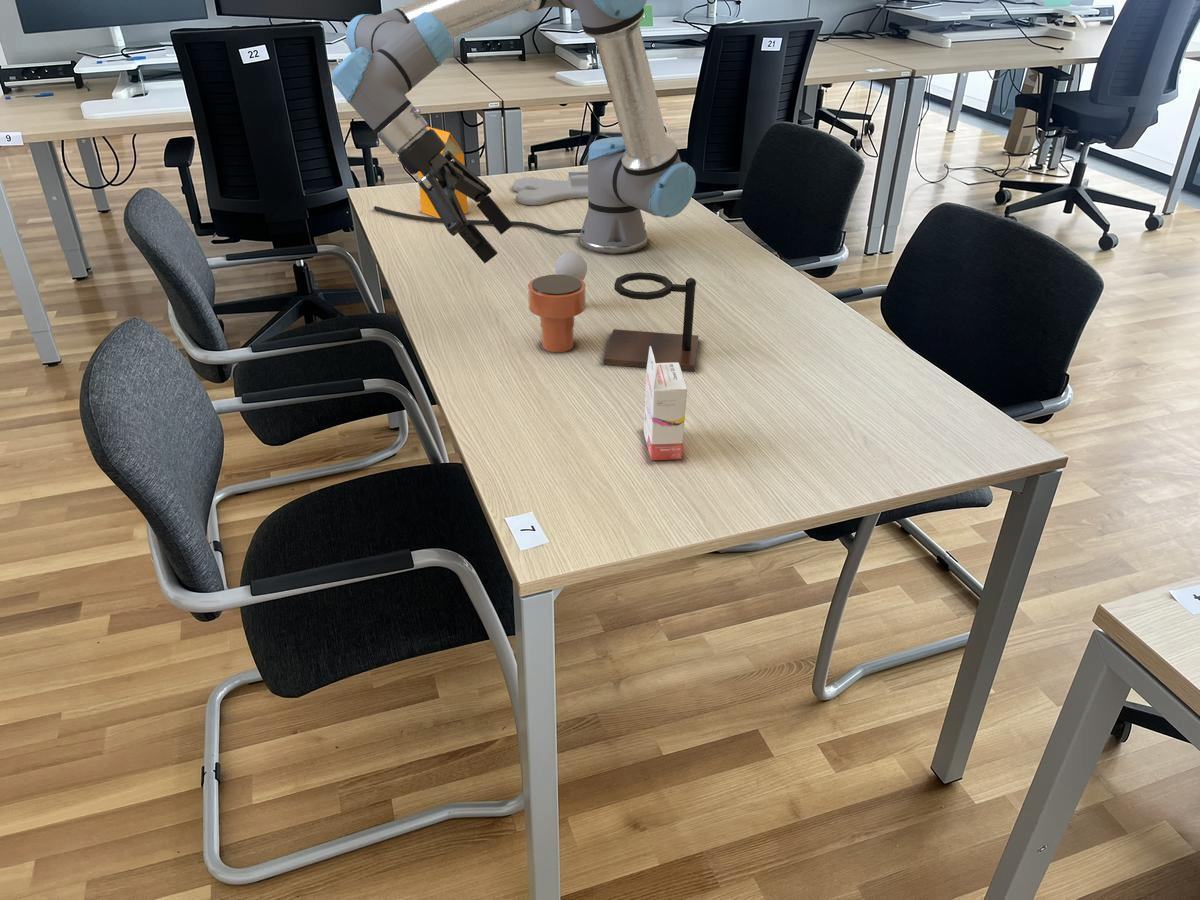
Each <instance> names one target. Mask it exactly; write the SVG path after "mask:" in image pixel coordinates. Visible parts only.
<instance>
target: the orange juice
mask: <svg viewBox="0 0 1200 900" xmlns="http://www.w3.org/2000/svg"><path fill="white" fill-rule="evenodd" d="M426 128H427V129H428V130H429V129H433V130H434V131H435V132H436V133H437V135H438V136H439V137H440V138H441V139H442V141H443V142H444V143H445V148H444V149H443V150H442V151H441V152H440V153H441V154H442V155H444V154H445V153H446V152H447V151H450V152H451V153H452V154H453V155H454V156H455V158H456V159H457V160H458V161H459V162H461V163H462V164H463V165H464V166H465V167H466V165H465V164H466V163H465V153H464V151H463V149H461V147H460V145H459V143H458V142H457V141H456V139H455V138H454V136H453V135H452V133H451V132H450V131H447V130H442V129H440V128H435V127H431V126H428V125H427V126H426ZM417 176H418V177H417V179H418V181H419V180H420V179H421V178H422V177H424V176H423V175H422V173H421V172H420V171H418V172H417ZM418 181H417V182H418ZM418 188H419V198H420V200H419V201H420V209H421V213H423V214H425V215H429V216H430V217H433V218H440V217H439V215H438V213H437V211H436V210H435V208H434V206H433V205H432V203H431V201H430V199H429V198H428V196H427V194H426V193H425V192H424V190H423V189H422V188H421V187H420V185H419V184H418ZM454 192H455V194H456V197H457V199H458V201H459V203H460V206H461V208H462V210H463V212H464V215H466V214H468V213H469V210H468V196H466V195H464V194H463V193H461V192H459V191H458V190H456V189H455V191H454Z"/></svg>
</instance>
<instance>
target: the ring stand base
mask: <svg viewBox="0 0 1200 900" xmlns="http://www.w3.org/2000/svg"><path fill="white" fill-rule="evenodd" d="M682 338H683V333H682V334H681V333H669V332H656V331H655V332H654V331H644V330H643V331H642V330H629V329H628V330H627V329H612V332H611V335H610V339H609V341H608V345H607V348H606V352H605V354H604V357H603V365H606V366H617V367H618V366H619V367H632V368H644V369H647V362H648V355H649V348H650V346H651V348H652V351H653V355H654V359H655V362H656V363H679V365H680V368H681V371H683V372H695V367H696V360H697V354H698V346H699V338H700V337H699V335H697V334H694V335H693V334H692V341H691V350H690V351H684V350H682ZM651 363H652V362H651Z"/></svg>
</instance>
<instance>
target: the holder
mask: <svg viewBox="0 0 1200 900" xmlns="http://www.w3.org/2000/svg"><path fill="white" fill-rule="evenodd" d="M567 177H568V178H567V179H568V180H559V179H546V178H539V177H521V178H517V179H515V180H514V181H513V182H512V190H514V192H517V193H516V196H515V197H516V201H517V202H518V203H519V204H521V205H525V206H543V205H547V204H550V203H553V202H558V201H563V200H571V199H588V170H586V171H568V175H567Z"/></svg>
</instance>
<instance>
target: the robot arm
mask: <svg viewBox="0 0 1200 900" xmlns="http://www.w3.org/2000/svg"><path fill="white" fill-rule="evenodd" d="M647 1H648V0H414V1H411V2H408V3H405V4H403V5H401V6H398V7H396V8H393V9H390V10H386V11H383V12H382V13H379V14H372V13H366V14H365V13H363V14H358V15H356V16H355V17H353V18H352V19H351V20H350V21H349V23H348V25H347V27H346V30H345V41H346V45H347V47H348V49H349V51H350V53H349V54H348V55H347V56H346V57H345V58H344V59H343V60H341V62H339V64H337V66H336V67H334V69H333V70H332V72H331V77H330V78H331V81H332V83H333V85H334V86H335V87H336V89H337V91H339V93H340V94H341V95H342V96H343V98H344V100H345V101H346V102H347V104H349V105H350V106H351V107H352V108H353V109H354V110H355V112H356V113H357V114H358V115H359V116H360V117H361V118H362V120H363V121H365V123H366V124H367V125H368V126H369V127H370V128H371V129H372V130H373V132H374V133H375V134H376V136H377V137H378V138H379V140H381V142H382V143H383V144H384V146H385V147H386V148H387V149H388V151H389V152H391V154H392V155H396V154H397V155H398V156H397V157H398V158H397V159H398V162H399V163H400V164H401V165H402V166H403V167H404V169H405V170H406V171H407V172H408V174H410V175H412V176H414V175H416V174H418V171H420V172H421V173H422V175H423V176H424V177H422V178H421V179H420V180H419V181H417V185H418V186H419V185H420V187H421V188H422V189H423V190H424V192H425V193H426V194H427V196H428V198H429V199H430V201H431V203H432V205H433V206H434V208H435V210H436V211H437V213H438V215H439V217H440V218H437V217H434V216H423V215H416V214H411V213H405V212H401V211H396V210H391V209H388V208H384V207H380V206H377V205H375V206H373V210H374V211H378V212H382V213H385V214H387V215H388V214H389V215H393V216H398V217H402V218H407V219H411V220H418V221H426V222H436V223H442V224H443V225H444V227H445V229H446V231H447V232H448V233H449V234H450V235H451V236H452V237H454V236H456V235H459V236H460V237H461V238H462V239H463V241H464V242H465V243H466V244H467V245H468V247H470V249H471V250H472V251H473V253H475V254H476V255H477V257H478V258H479V259H480V260H481V261H482V263H483V264H486V263H488V262H489V261H490V260H492V259H493V258H494V257H495V256H497V255H498V251H497V250H496V249H495V247H493V245H492V244H491V243H490V242H489V241H488V239H486V237H485V236H484V235H483V234H482V232H481V231H480V230H479V229H478V228H477V227H476V226H475V225H491V226H492V227H494V228H495V230H496V231H497V232H498V233H499V234H500V235H503V234H504V233H505V232H507V231H508V230H509V229H511V228H512V227H513V226H519V227H521V226H522V227H527V228H528V227H529V228H534V229H537V230H540V231H542V232H546V233H548V234H552V235H567V234H579V239H580V240H579V242H580V245H581V247H583V248H585V249H587V250H589V251H591V252H595V253H596V252H597V253H600V254H601V253H602V254H609V255H611V254H615V255H616V254H628V253H634V252H637V251H640V250H643V248H645V247H646V246H647V245H648V232H647V230H646V221H644V220H643V215H642V212H641V211H643V212H645V213H648V214H650V215H652V216H655V217H661V218H668V219H669V218H673V217H675V216H678V215H679V214H681V213H682V212H683V211H684V210H685V209H686V207H687V206H688V205H689V204H690V202H691V200H692V197H693V195H694V193H695V189H696V184H697V183H696V182H697V179H696V172H695V170H694V168H693V166H691V165H689V164H688V163H687V162H685V161H682V159H681V157H680V154H679V149H678V145H677V143H676V141H675V140H674V139H672V138H670V137H669V136H667V132H666V128H665V124H664V120H663V116H662V112H661V109H660V104H659V100H658V95H657V91H656V87H655V84H654V80H653V79H654V78H653V75H652V72H651V67H650V63H649V59H648V56H647V55H648V54H647V51H646V48H645V47H646V46H645V43H644V39H643V34H642V30H641V26H640V23H641V21H642V19H643V18H644V15H645V8H644V7H645V5H646V3H647ZM546 8H564V9H570V10H574V11H577V13H578V17H579V20H580V23H581V26H582V30H583V32H584V34H585V35H587V36H588V37H591V38H593V39H594V41H595V42H594V43H595V46H596V48H597V51H598V56H599V59H600V63H601V66H602V70H603V74H604V77H605V80H606V83H607V84H606V85H607V88H608V92H609V95H610V98H611V103H612V106H613V109H614V112H615V116H616V120H617V123H618V126H619V127H618V128H619V130H620V133H621V136H612V137H606V138H600V139H596V140H594V141H593V142H591V143H590V145H589V147H588V157H587V171H588V198H587V199H588V202H587V203H588V205H587V212H586V215H585V217H584V221H583V224H582V227H581V228H572V229H571V228H570V229H560V230H559V229H558V230H557V229H552V228H549V227H545V226H543V225H541V224H538V223H534V222H528V221H519V220H518V221H515V220H510V219H509V218H508V216H507V215H506V214H505V213H504V211H503V210H502V209H501V208H500V207H499V205H497V203H496V202H495V201H494V199H492V198H491V196H490V194H491V193H492V192H493V191H492V189H491V187H489V186H488V184H487V183H485V181H483V180H482V179H481V178H480V177H478V175H476V174H475V173H474V172H473V171H472V170H470V169H469V168H468V167H467V166H466V165H465V166H464V165H463V164H462V163H461V162H459V161H458V160H457V159H456V158H455V156H454V155H453V154H452V153H451V152H450V151H447V152H446V153H445V154H444V155H442V154H441V153H440V152H441V151H442V150H443V149H444V148H445V143H444V142H443V141H442V139H441V138H440V137H439V136H438V135H437V133H436V132H435V131H434V130H433V129H429V130H428V129H427V126H428V122H427V121H426V119H424V117H423V115H422V114H421V112H422V111H421V109H420V108H418V107H417V108H416V107H415V106H414V105H413V104H412V102H411V100H409V98H408V97H407V94H408V93H410V91H412V89H413V88H414V87H416V86H417V85H418V84H419V83H421V81H423V80H424V79H425V78H427V77H428V76H429V75H430V74H431V73H432V72H434V71H435V70H436V69H437V68H438V67H441V66H442V64H443V62H444V61H446V59H447V58H449V56H450V55H451V54H452V53H453V51H454V42H453V38H456V37H458V36H461V35H463V34H465V33H468V32H470V31H473V30H476V29H479V28H480V27H481V28H482V27H483V26H485V25H488V24H491V23H493V22H495V21H498V20H501V19H504V18H505V17H508V16H510V15H514V14H516V13H518V12H520V11H525V12H528V13H534V12H537V11H539V10H543V9H546ZM455 189H456V190H458V191H459V192H461V193H463V194H464V195H466V196H467V198H469V199H470V200H473V201H474V202H475V203H477V204H476V207H477V208H478V210H479V211H480V212H481V213H482V214H483V215H484V216H485V219H467V217H466V214H464V212H463V210H462V208H461V206H460V203H459V201H458V199H457V197H456V194H455V192H454V191H455ZM486 219H487V220H486Z"/></svg>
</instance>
